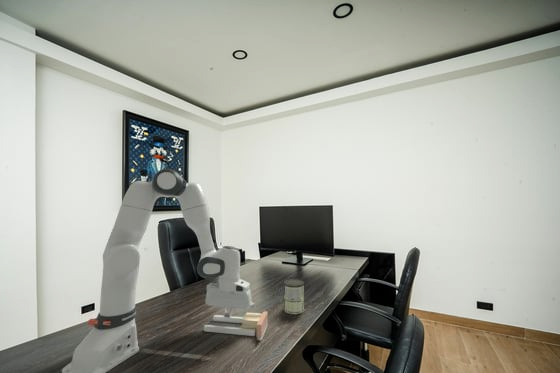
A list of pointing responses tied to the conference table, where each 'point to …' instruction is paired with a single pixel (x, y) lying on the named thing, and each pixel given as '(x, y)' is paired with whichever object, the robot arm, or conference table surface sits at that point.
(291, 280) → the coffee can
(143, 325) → the conference table surface
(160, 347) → the conference table surface
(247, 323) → the block
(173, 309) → the conference table surface
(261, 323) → the rail
